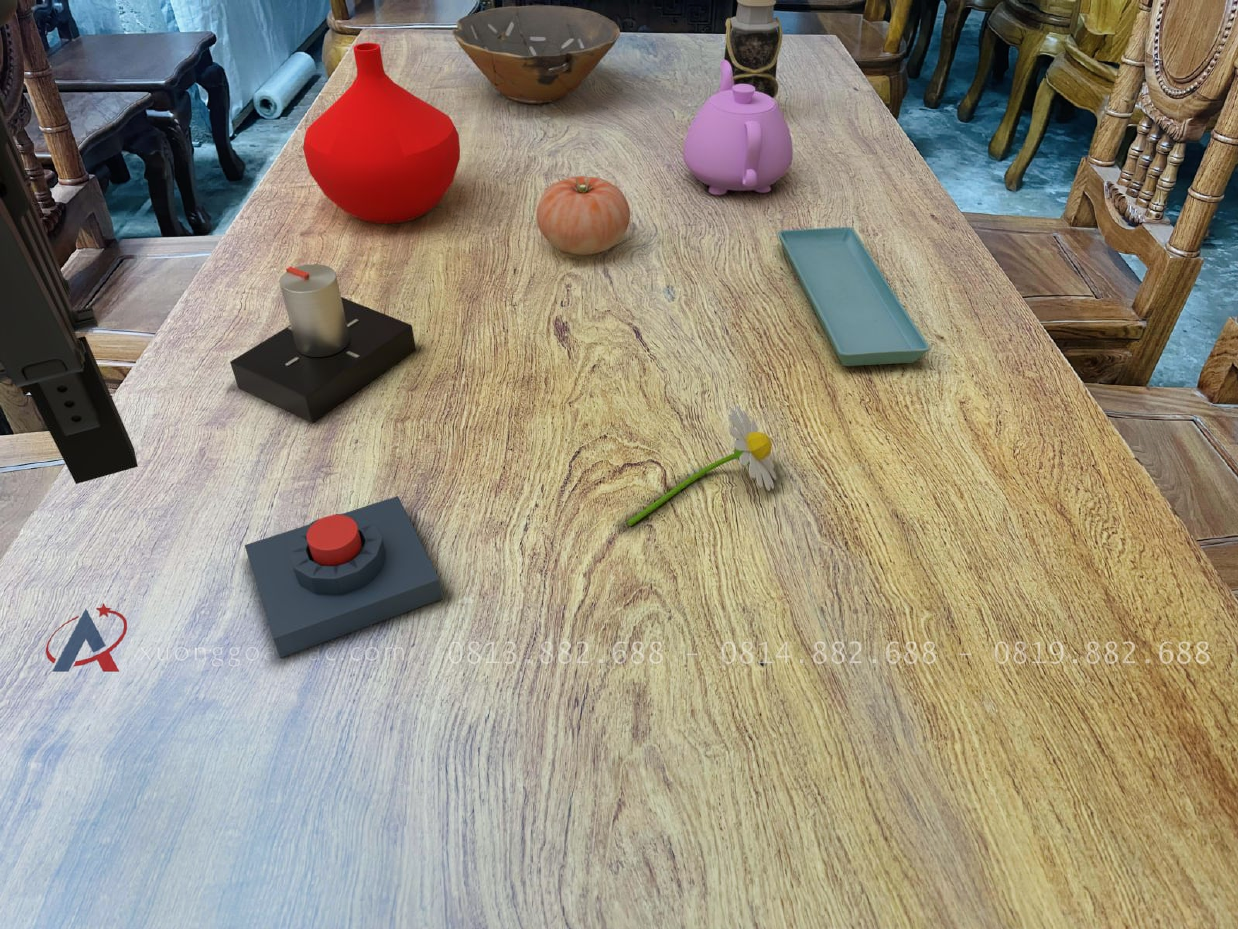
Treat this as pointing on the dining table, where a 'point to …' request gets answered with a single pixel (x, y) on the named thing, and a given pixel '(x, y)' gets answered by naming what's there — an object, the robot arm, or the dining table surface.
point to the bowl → (536, 48)
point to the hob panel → (324, 364)
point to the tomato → (583, 215)
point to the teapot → (738, 139)
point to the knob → (315, 310)
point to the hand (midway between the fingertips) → (105, 465)
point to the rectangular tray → (852, 297)
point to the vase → (382, 147)
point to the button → (334, 540)
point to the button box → (342, 579)
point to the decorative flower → (746, 449)
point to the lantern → (754, 45)
